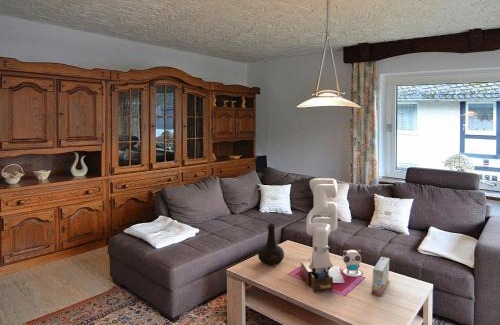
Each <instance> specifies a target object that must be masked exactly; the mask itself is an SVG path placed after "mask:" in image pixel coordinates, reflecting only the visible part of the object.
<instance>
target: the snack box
mask: <svg viewBox="0 0 500 325" xmlns="http://www.w3.org/2000/svg"><path fill="white" fill-rule="evenodd" d="M390 260H391V259H390V257H385V256H380V258H379V260H378V261H377V263H375V266H374V268H373V270H372V286H371V294H372V295H375V296H379V297H381V296H382V295H383V292H384V290H385V288H386V286H387V284H388V283H389V272H390Z"/></svg>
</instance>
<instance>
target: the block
mask: <svg viewBox="0 0 500 325" xmlns="http://www.w3.org/2000/svg"><path fill="white" fill-rule="evenodd" d="M317 273H318V278H326V272H325V271H324V270H323V269H322V270H318V271H317Z"/></svg>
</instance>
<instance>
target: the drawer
mask: <svg viewBox="0 0 500 325" xmlns="http://www.w3.org/2000/svg"><path fill="white" fill-rule="evenodd" d="M333 278H334V277H333V276H330V274H328V273H327V277H326V278H315V276H314V273H310V285H311V287H310V288H312V292H313V293H320V292H332V291H333V288H334V287H333V286H334V284H333V282H334V280H333Z"/></svg>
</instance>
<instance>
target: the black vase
mask: <svg viewBox="0 0 500 325" xmlns="http://www.w3.org/2000/svg"><path fill="white" fill-rule="evenodd" d="M276 228H277V227H276V225H275V224H274V223H268V225H267V238H266V239H267V240H266V243H265V244H264V245H263V246H261V247H260V248H259V250H258V252H257V257H258V260H259V261H260V262H261V263H262V264H263V265H265V266H270V267H273V266H278V265H280V263H282V261H283V260H284V258H285V252H284V249H283V248H282V247H281V246H280V245H277V241H276V231H275V230H276Z"/></svg>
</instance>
